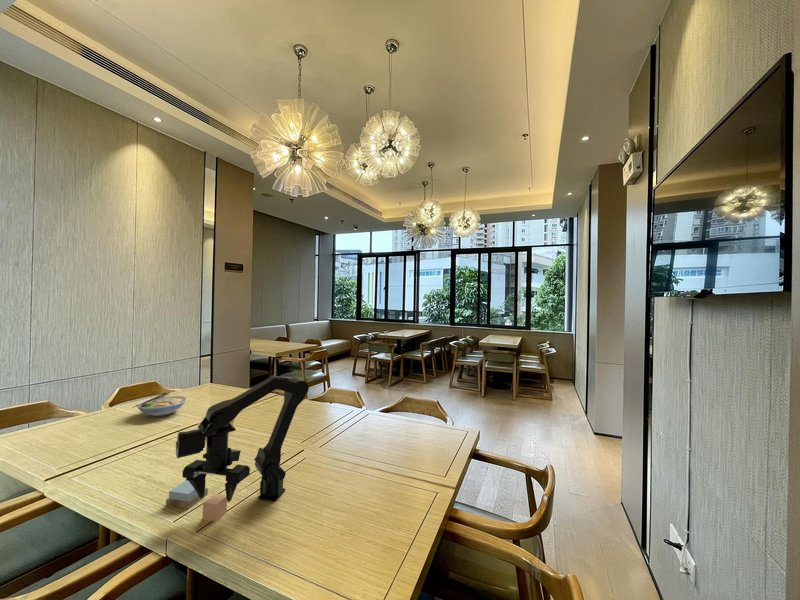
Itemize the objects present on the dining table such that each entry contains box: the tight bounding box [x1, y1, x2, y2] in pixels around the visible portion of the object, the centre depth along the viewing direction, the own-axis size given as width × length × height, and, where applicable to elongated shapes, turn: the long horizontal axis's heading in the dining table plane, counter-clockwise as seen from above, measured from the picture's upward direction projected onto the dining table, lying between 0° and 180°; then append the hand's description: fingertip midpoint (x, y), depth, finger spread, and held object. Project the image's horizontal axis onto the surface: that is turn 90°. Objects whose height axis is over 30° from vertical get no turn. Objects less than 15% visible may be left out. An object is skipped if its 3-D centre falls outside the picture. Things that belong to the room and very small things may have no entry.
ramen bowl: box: [131, 392, 188, 417], centre depth 179 cm, size 25×23×8 cm
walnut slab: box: [165, 487, 209, 510], centre depth 104 cm, size 8×8×2 cm
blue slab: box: [168, 479, 206, 502], centre depth 104 cm, size 7×7×2 cm
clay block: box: [202, 493, 228, 522], centre depth 97 cm, size 4×4×5 cm
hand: (215, 499), depth 97 cm, fingers open, 9 cm apart
